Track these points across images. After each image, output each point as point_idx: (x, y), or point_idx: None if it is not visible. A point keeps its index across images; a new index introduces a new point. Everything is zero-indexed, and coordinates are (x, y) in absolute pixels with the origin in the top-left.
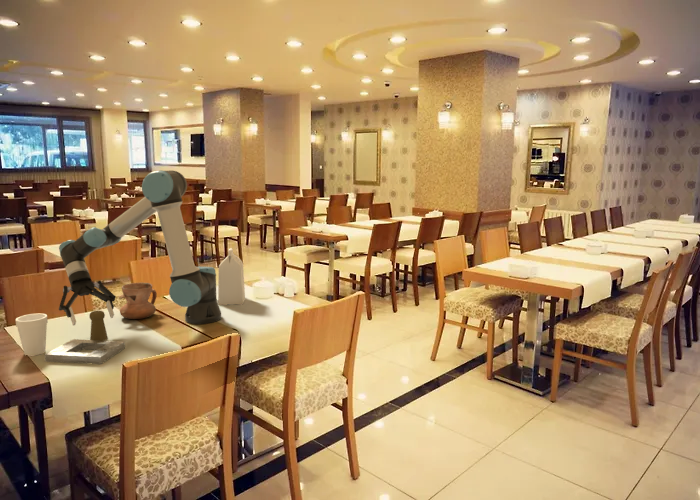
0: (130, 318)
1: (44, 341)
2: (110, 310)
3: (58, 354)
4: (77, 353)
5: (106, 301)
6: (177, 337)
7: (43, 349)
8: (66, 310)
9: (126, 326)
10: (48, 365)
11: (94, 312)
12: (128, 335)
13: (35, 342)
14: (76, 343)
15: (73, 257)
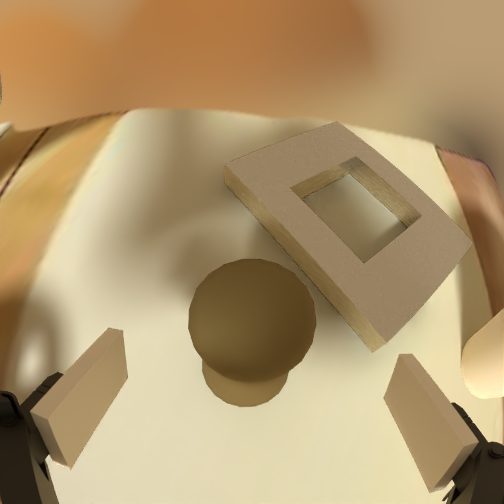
0: None
1: (490, 324)
2: (104, 357)
3: (439, 211)
4: (390, 178)
5: (45, 475)
6: (69, 165)
7: (474, 334)
8: (481, 434)
9: None
10: None
11: (284, 288)
12: (125, 300)
13: None
14: (384, 269)
15: None
